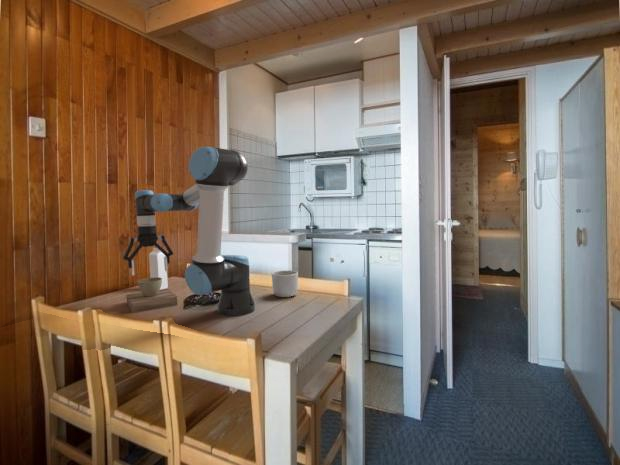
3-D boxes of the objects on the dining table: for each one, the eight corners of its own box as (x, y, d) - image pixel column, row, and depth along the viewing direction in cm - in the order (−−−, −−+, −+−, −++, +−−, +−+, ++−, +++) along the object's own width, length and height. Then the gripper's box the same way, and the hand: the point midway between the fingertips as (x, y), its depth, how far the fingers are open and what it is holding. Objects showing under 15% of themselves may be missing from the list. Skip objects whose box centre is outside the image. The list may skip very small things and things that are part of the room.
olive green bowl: (167, 292, 162) (165, 276, 161) (156, 298, 152) (155, 282, 152) (145, 292, 163) (144, 277, 162) (134, 298, 153) (132, 282, 152)
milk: (159, 287, 192) (157, 246, 190) (168, 287, 189) (165, 247, 188) (150, 289, 186) (148, 248, 185) (159, 290, 184) (156, 248, 182)
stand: (177, 305, 156) (176, 296, 155) (132, 312, 146) (131, 303, 145) (168, 296, 171) (167, 288, 170) (126, 303, 161) (126, 294, 160)
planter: (282, 300, 159) (282, 276, 158) (267, 295, 169) (266, 273, 168) (303, 295, 167) (303, 272, 166) (287, 290, 177) (287, 269, 176)
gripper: (174, 223, 165) (177, 268, 167) (113, 227, 151) (117, 275, 153) (178, 224, 159) (181, 270, 161) (115, 227, 145) (119, 278, 147)
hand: (150, 273), depth 157 cm, fingers open, 13 cm apart
